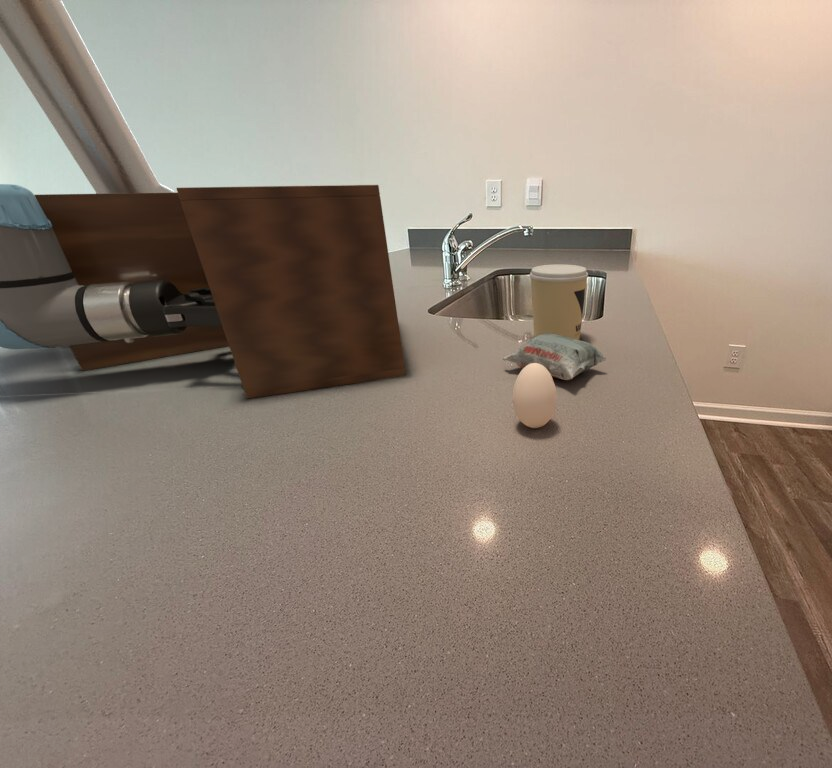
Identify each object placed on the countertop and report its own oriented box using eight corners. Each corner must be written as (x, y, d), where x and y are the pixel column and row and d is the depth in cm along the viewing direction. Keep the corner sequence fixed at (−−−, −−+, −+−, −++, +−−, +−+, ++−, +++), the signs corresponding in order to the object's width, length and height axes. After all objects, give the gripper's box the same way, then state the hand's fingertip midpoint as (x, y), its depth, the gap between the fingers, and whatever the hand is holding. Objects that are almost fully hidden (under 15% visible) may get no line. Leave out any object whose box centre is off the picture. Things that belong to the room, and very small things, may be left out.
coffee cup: (588, 348, 66) (592, 273, 61) (530, 349, 66) (530, 274, 61) (580, 330, 75) (583, 263, 69) (529, 331, 75) (529, 264, 70)
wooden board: (246, 398, 52) (175, 187, 42) (281, 337, 75) (241, 190, 64) (406, 375, 58) (378, 184, 47) (393, 324, 80) (373, 188, 70)
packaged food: (571, 394, 51) (573, 357, 49) (502, 371, 58) (501, 338, 56) (605, 373, 57) (608, 339, 55) (538, 354, 64) (539, 324, 62)
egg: (528, 442, 42) (527, 376, 39) (505, 422, 45) (503, 361, 42) (564, 429, 44) (566, 366, 41) (540, 411, 47) (540, 352, 44)
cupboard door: (93, 357, 66) (12, 195, 56) (274, 328, 79) (235, 192, 69) (82, 371, 61) (-9, 195, 51) (277, 337, 74) (236, 191, 64)
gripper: (185, 313, 68) (321, 301, 74) (106, 368, 47) (307, 344, 53) (168, 268, 65) (312, 258, 71) (75, 303, 43) (293, 286, 50)
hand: (310, 295), depth 62 cm, fingers open, 13 cm apart
